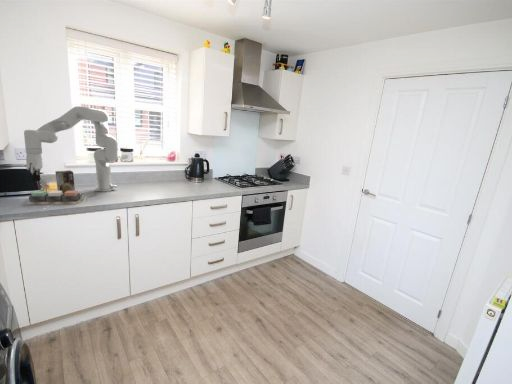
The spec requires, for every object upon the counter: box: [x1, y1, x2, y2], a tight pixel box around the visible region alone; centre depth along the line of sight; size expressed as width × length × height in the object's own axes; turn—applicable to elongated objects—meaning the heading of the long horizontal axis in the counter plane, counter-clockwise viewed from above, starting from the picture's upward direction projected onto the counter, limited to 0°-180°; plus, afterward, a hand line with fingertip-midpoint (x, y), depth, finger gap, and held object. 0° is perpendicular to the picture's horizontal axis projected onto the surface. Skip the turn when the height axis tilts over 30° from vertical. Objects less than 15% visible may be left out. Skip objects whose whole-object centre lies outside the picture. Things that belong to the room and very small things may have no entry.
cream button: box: [47, 190, 63, 196], centre depth 167 cm, size 6×6×4 cm
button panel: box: [25, 192, 84, 205], centre depth 168 cm, size 27×11×4 cm, turn 110°
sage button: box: [30, 190, 48, 196], centre depth 164 cm, size 6×6×4 cm
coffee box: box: [55, 170, 76, 193], centre depth 185 cm, size 9×6×16 cm
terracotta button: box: [64, 190, 79, 196], centre depth 170 cm, size 6×6×4 cm
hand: (36, 180), depth 162 cm, fingers closed
